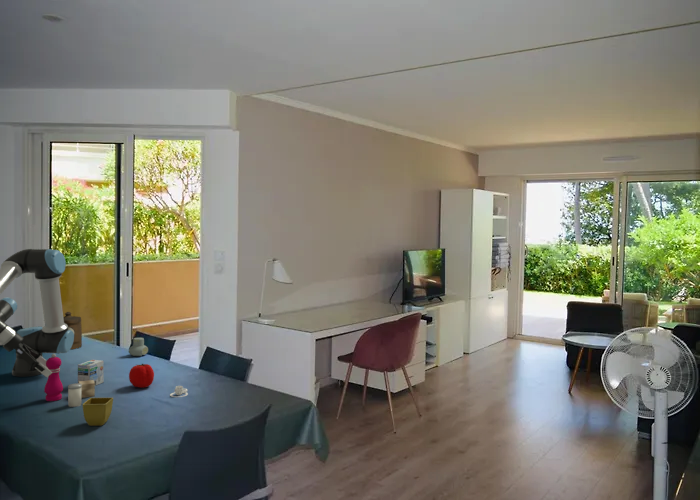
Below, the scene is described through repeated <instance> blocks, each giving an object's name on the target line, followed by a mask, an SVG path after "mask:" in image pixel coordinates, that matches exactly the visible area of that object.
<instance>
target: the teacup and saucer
mask: <svg viewBox="0 0 700 500" xmlns="http://www.w3.org/2000/svg"><path fill="white" fill-rule="evenodd" d="M182 394H183V395H182ZM174 395H176V396H174ZM188 395H189V393H188V389H187V388H184V386H183V385H177V386H175V388H174V392H172V393H170V394H169V396H170V397H172V398H184V397H186V396H188Z"/></svg>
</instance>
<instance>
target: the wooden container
mask: <svg viewBox="0 0 700 500" xmlns="http://www.w3.org/2000/svg"><path fill="white" fill-rule="evenodd" d="M64 315H65V316H63V319H64V323H65V324H67V325H68V330H71V331H73V333H74V341H73V344H72V347H71V349H70V350H75V349H76V348H77V349H80V348H82V347H81V346H83V341H82V339H83V338H82V336H83V334H82V317H81V316H72V312H70V311H66V312H65V313H64ZM79 347H80V348H79Z"/></svg>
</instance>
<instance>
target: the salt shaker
mask: <svg viewBox="0 0 700 500" xmlns="http://www.w3.org/2000/svg"><path fill="white" fill-rule="evenodd" d="M81 387H82V384H79V383H78V382H77V383H76V382H75V383H70V384H68V385H67V389H68V390H67V396H68V398H67V399H68V400H67V402H68V407H69V408H70V407H71V408H76V407H80V406H81V405H82V398H81Z"/></svg>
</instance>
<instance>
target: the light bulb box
mask: <svg viewBox="0 0 700 500" xmlns="http://www.w3.org/2000/svg"><path fill="white" fill-rule="evenodd" d="M104 365H105V363H104V360H100V359H99V360H98V359H90V360H88V361H85V362H81V363H79V364H77V383H79V381H88V380H94V383H95V387H96V386H99V385H101V384H102V383H103V384H104V372H105V371H104Z"/></svg>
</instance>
